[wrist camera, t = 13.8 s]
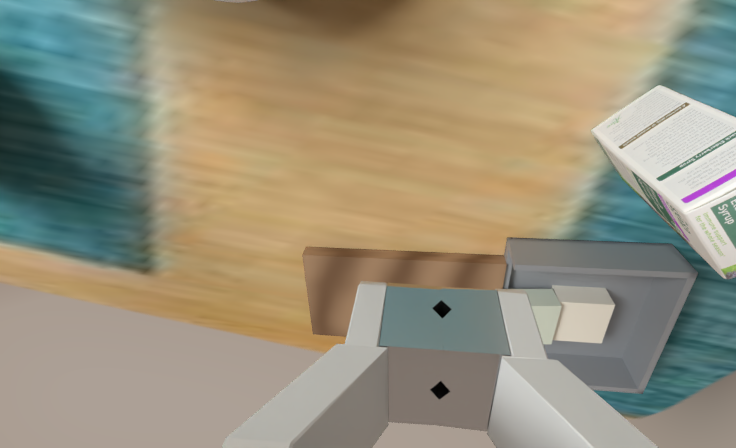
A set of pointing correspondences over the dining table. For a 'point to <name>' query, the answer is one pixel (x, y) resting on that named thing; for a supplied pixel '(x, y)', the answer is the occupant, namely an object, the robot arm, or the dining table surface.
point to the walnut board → (385, 277)
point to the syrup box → (680, 168)
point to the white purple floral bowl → (236, 1)
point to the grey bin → (627, 290)
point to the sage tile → (545, 311)
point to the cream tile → (582, 313)
